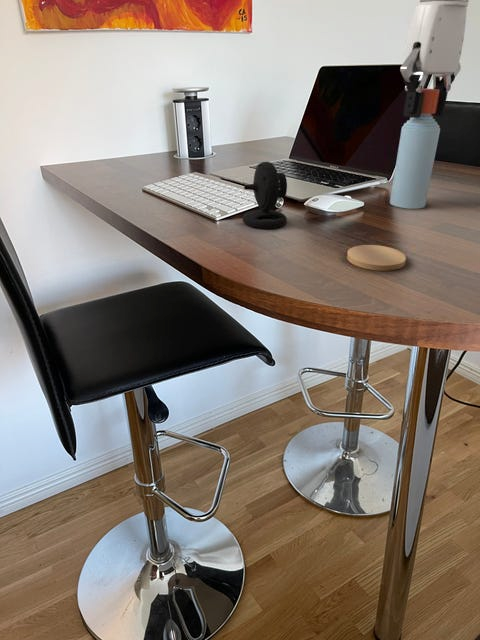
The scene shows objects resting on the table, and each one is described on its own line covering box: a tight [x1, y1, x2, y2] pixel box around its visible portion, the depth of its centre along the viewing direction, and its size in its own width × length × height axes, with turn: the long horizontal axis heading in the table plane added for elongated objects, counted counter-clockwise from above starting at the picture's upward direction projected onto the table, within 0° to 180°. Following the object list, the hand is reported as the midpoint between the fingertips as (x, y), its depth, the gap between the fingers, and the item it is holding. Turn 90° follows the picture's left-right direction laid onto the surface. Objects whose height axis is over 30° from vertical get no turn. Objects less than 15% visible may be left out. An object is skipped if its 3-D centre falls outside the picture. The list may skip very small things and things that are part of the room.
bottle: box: [389, 114, 441, 210], centre depth 92 cm, size 7×7×20 cm
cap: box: [421, 88, 440, 114], centre depth 88 cm, size 4×4×4 cm
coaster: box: [346, 244, 407, 272], centre depth 70 cm, size 8×8×1 cm
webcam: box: [242, 161, 288, 230], centre depth 82 cm, size 8×8×10 cm
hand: (423, 115), depth 89 cm, fingers open, 5 cm apart
